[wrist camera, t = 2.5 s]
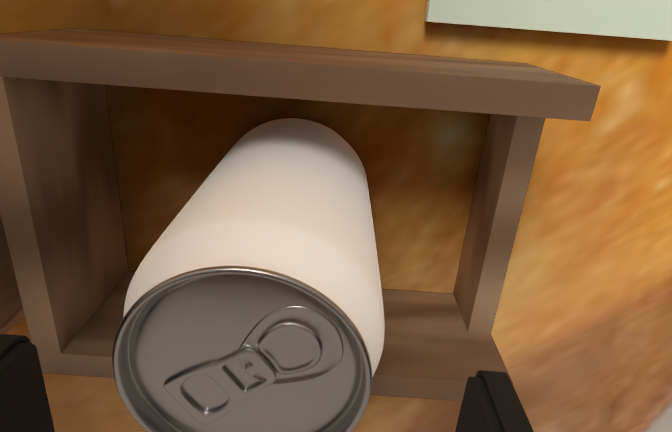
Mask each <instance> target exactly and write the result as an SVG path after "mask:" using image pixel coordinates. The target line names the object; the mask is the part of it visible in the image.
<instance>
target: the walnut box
mask: <svg viewBox="0 0 672 432" xmlns="http://www.w3.org/2000/svg"><path fill="white" fill-rule="evenodd" d="M105 85H117V86H130V87H144V88H157V89H170V90H183V91H197V92H210V93H223V94H236V95H250V96H263V97H276V98H289V99H303V100H316V101H329V102H342V103H356V104H369V105H382V106H395V107H409V108H422V109H435V110H448V111H462V112H475V113H488V114H490V117H489V122H488V127H487V131H486V136H485V141H484V146H483V151H482V156H481V161H480V166H479V171H478V175H477V180H476V185H475V190H474V195H473V200H472V205H471V210H470V215H469V220H468V224H467V229H466V234H465V239H464V244H463V249H462V254H461V259H460V264H459V268H458V273H457V278H456V283H455V288H454V293H453V294H447V293H433V292H419V291H405V290H390V289H382V298H383V308H384V321H385V331H384V345H383V350H382V355H381V358H380V361H379V364H378V366H377V369H376V371H375V373H374V375H373V377H372V388H371V394H370V395H379V396H394V397H409V398H424V399H439V400H454V401H462V400H463V396H464V392H465V387H466V383H467V379H468V377H470V376H472V377H475V376H476V373H477V372H478V371H479V370H485V371H498V372H505V373H507V375H508V376H509V374H508V371H507V369H506V367H505V365H504V362H503V360H502V358H501V356H500V354H499V351H498V349H497V347H496V345H495V342H494V340H493V338H492V336H491V331H492V327H493V323H494V319H495V315H496V311H497V307H498V303H499V299H500V295H501V291H502V287H503V283H504V279H505V275H506V271H507V267H508V263H509V259H510V255H511V251H512V248H513V244H514V240H515V236H516V232H517V228H518V224H519V220H520V216H521V212H522V208H523V204H524V200H525V196H526V192H527V188H528V184H529V180H530V176H531V172H532V168H533V165H534V161H535V157H536V153H537V149H538V145H539V141H540V137H541V133H542V129H543V125H544V121H545V118H554V119H568V120H581V121H591V117H592V114H593V110H594V107H595V104H596V100H597V97H598V93H599V90H600V87H601V86H599V85H596V84H592V83H589V82H586V81H582V80H579V79H576V78H573V77H569V76H566V75H563V74H559V73H556V72H553V71H550V70H546V69H543V68H540V67H536V66H533V65H530V64H527V63H516V62H503V61H491V60H478V59H465V58H452V57H439V56H426V55H413V54H400V53H387V52H374V51H361V50H348V49H335V48H322V47H309V46H296V45H283V44H270V43H257V42H244V41H231V40H218V39H205V38H192V37H179V36H166V35H153V34H140V33H127V32H114V31H101V30H88V29H75V28H70V29H57V30H44V31H30V32H17V33H4V34H0V213H1V218H2V222H3V226H4V230H5V234H6V239H7V243H8V247H9V251H10V255H11V259H12V264H13V268H14V272H15V276H16V280H17V285H18V289H19V293H20V297H21V301H22V305H23V310H24V314H25V318H26V322H27V326H28V331H29V335H30V339H31V343H32V344H34V345H35V346H36V348H37V351H38V356H39V361H40V365H41V370H42V373H50V374H65V375H80V376H95V377H110V378H114V376H113V371H112V348H113V343H114V339H115V335H116V332H117V330H118V327H119V325H120V323H121V321H122V319H123V314H124V305H125V299H126V294H127V291H128V288H129V285H130V282H131V280H132V278H133V276H134V274H135V272H133V271H128V264H127V256H126V248H125V240H124V232H123V224H122V216H121V208H120V200H119V192H118V184H117V176H116V168H115V160H114V152H113V144H112V136H111V128H110V120H109V112H108V104H107V96H106V88H105ZM509 378H510V376H509ZM510 380H511V378H510ZM511 382H512V380H511ZM512 385H513V383H512Z"/></svg>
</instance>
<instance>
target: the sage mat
mask: <svg viewBox="0 0 672 432" xmlns="http://www.w3.org/2000/svg"><path fill="white" fill-rule="evenodd" d="M425 21H427V22H439V23H452V24H464V25H477V26H490V27H503V28H516V29H529V30H541V31H554V32H567V33H580V34H593V35H605V36H618V37H631V38H644V39H657V40H669V41H672V0H427V6H426V14H425Z"/></svg>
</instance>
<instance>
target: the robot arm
mask: <svg viewBox="0 0 672 432" xmlns="http://www.w3.org/2000/svg"><path fill="white" fill-rule="evenodd" d="M0 432H55V431H54V426H53V422H52V417H51V412H50V408H49V403H48V398H47V394H46V389H45V384H44V380H43V375H42V370H41V365H40V361H39V356H38V351H37V348H36V346H35V345H34V344H32V343H30V340H29V339H28V338H27V337H26V336H19V335H6V334H0ZM455 432H534V431H533V429H532V427H531V425H530V423H529V420H528V418H527V416H526V414H525V411H524V409H523V407H522V405H521V403H520V400H519V398H518V396H517V394H516V391H515V389H514V387H513V385H512V382H511V380H510V378H509V376H508V375H507V373H505V372H498V371H485V370H479V371H478V372H477V373H476V376H475V377H472V376H470V377H468V379H467V383H466V387H465V392H464V396H463V400H462V405H461V409H460V414H459V418H458V422H457V427H456V431H455Z"/></svg>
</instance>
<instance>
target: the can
mask: <svg viewBox="0 0 672 432" xmlns="http://www.w3.org/2000/svg"><path fill="white" fill-rule="evenodd" d="M384 331H385V321H384V308H383V298H382V289H381V281H380V273H379V265H378V257H377V249H376V241H375V234H374V226H373V219H372V211H371V204H370V197H369V190H368V183H367V177H366V173H365V169H364V167H363V164H362V162H361V160H360V158H359V157H358V155H357V154H356V152H355V151H354V150H353V148H352V147H351V146H350V145H349V144H348V143H347V142H346V141H345V140H344V139H343V138H342V137H341V136H340V135H339V134H337V133H336V132H335V131H333V130H332V129H330V128H328V127H326V126H324V125H322V124H320V123H317V122H314V121H310V120H306V119H298V118H285V119H277V120H273V121H269V122H266V123H264V124H261V125H259V126H257V127H255V128H254V129H252V130H250V131H249V132H248V133H246V134H245V135H244V136H243V137H241V138H240V139H239V140H238V142H237V143H236V144H235V145H234V146H233V147H232V148H231V149H230V151H229V152H228V153H227V154H226V155H225V157H224V158H223V159H222V160H221V161H220V163H219V164H218V165H217V166H216V167H215V169H214V170H213V171H212V172H211V174H210V175H209V176H208V177H207V179H206V180H205V181H204V182H203V183H202V185H201V186H200V187H199V188H198V190H197V191H196V192H195V193H194V195H193V196H192V197H191V198H190V200H189V201H188V202H187V203H186V205H185V206H184V207H183V208H182V210H181V211H180V212H179V213H178V215H177V216H176V217H175V218H174V220H173V221H172V222H171V223H170V225H169V226H168V227H167V228H166V230H165V231H164V232H163V233H162V235H161V236H160V237H159V239H158V240H157V241H156V242H155V244H154V245H153V246H152V248H151V249H150V251H149V252H148V253H147V255H146V256H145V257H144V259H143V260H142V262H141V263H140V265H139V267H138V269H137V270H136V272H135V274H134V276H133V278H132V280H131V282H130V285H129V288H128V291H127V294H126V299H125V305H124V314H123V319H122V321H121V323H120V325H119V327H118V330H117V332H116V335H115V339H114V343H113V348H112V371H113V376H114V380H115V384H116V387H117V390H118V392H119V394H120V397H121V399H122V401H123V402H124V404H125V406H126V407H127V409H128V410H129V412H130V413H131V415H132V416H133V417H134V418H135V419H136V421H137V422H138V423H139V424H140V425H141V426H142V427H143V428H144V429H145V430H146V431H147V432H351V431H352V430H353V429H354V428H355V426H356V425H357V424H358V422H359V421H360V419H361V417H362V416H363V414H364V412H365V409H366V407H367V404H368V401H369V398H370V394H371V388H372V377H373V375H374V373H375V371H376V369H377V366H378V364H379V361H380V358H381V355H382V350H383V345H384Z"/></svg>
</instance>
